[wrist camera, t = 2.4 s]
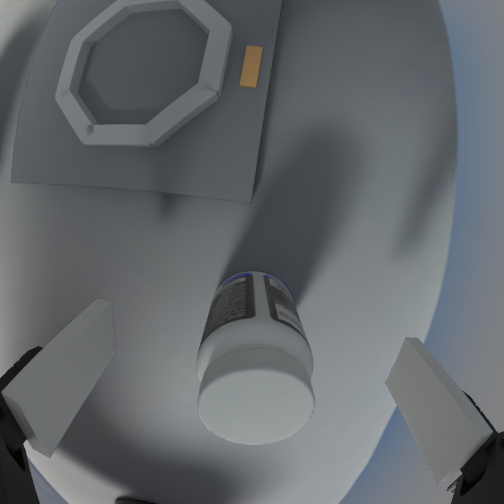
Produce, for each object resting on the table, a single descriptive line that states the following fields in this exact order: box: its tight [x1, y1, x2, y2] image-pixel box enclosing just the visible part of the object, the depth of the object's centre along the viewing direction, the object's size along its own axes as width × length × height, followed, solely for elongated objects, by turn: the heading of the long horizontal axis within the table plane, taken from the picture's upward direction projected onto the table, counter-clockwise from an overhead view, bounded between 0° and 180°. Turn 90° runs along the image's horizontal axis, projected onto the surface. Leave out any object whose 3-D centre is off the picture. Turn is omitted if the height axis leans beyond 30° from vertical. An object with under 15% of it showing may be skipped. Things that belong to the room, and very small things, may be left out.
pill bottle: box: [196, 271, 315, 445], centre depth 12 cm, size 5×5×8 cm
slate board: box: [11, 0, 282, 203], centre depth 12 cm, size 14×16×2 cm
